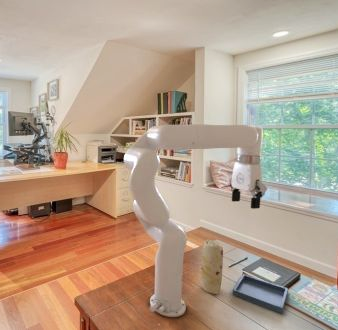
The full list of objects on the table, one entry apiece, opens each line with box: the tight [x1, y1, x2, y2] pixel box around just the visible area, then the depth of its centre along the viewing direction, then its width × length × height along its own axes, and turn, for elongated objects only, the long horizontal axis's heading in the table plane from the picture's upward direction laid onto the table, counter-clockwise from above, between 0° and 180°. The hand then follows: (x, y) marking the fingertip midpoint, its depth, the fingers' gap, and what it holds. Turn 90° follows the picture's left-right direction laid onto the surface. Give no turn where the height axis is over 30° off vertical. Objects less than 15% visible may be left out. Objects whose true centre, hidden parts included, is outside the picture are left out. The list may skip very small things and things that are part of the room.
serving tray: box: [232, 273, 289, 315], centre depth 100 cm, size 16×16×2 cm
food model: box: [200, 239, 224, 295], centre depth 102 cm, size 10×7×20 cm
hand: (244, 204), depth 96 cm, fingers open, 9 cm apart
